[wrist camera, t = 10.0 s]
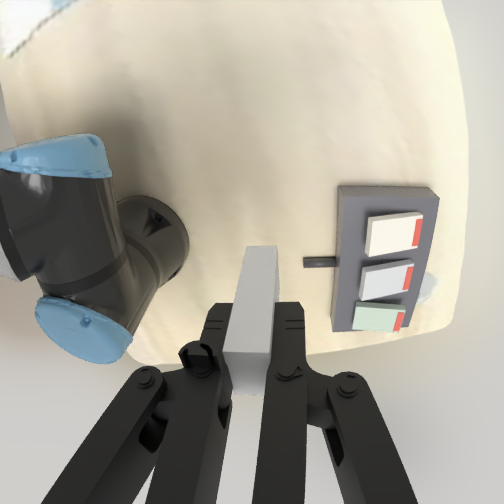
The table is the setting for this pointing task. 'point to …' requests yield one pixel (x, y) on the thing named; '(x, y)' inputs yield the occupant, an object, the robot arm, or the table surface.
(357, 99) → the table surface
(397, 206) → the rocker switch panel
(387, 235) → the cream rocker
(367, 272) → the grey rocker
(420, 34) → the table surface
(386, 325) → the sage rocker
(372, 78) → the table surface
